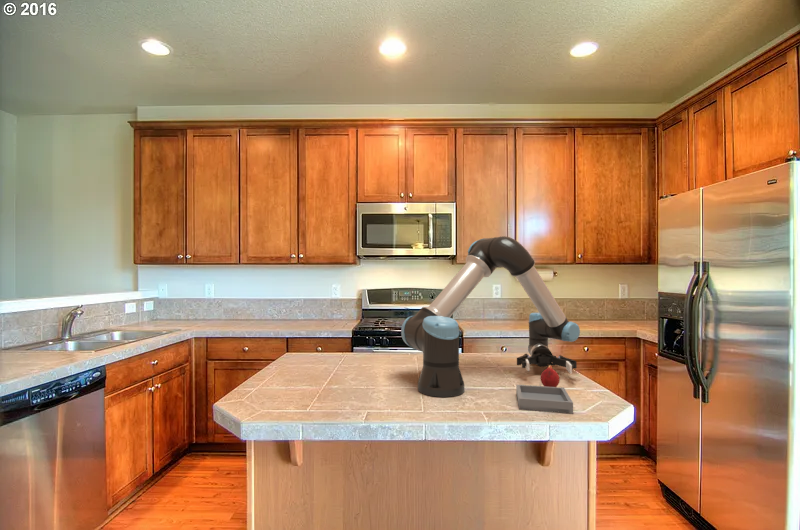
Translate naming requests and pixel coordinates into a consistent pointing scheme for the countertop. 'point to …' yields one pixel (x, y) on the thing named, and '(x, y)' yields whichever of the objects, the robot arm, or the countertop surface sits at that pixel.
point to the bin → (544, 399)
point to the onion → (550, 377)
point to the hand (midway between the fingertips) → (549, 368)
